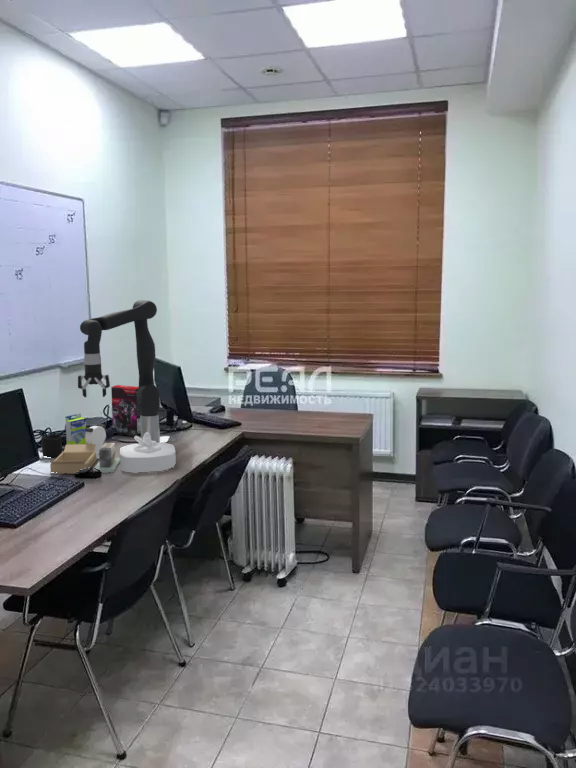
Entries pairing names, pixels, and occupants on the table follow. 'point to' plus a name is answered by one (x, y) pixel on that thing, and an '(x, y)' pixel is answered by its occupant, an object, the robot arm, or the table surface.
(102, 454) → the block
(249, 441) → the table surface
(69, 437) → the box
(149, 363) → the robot arm
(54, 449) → the pen holder
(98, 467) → the board
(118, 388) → the graphics card box
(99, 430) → the white security camera
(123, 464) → the tissue box
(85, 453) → the carton
